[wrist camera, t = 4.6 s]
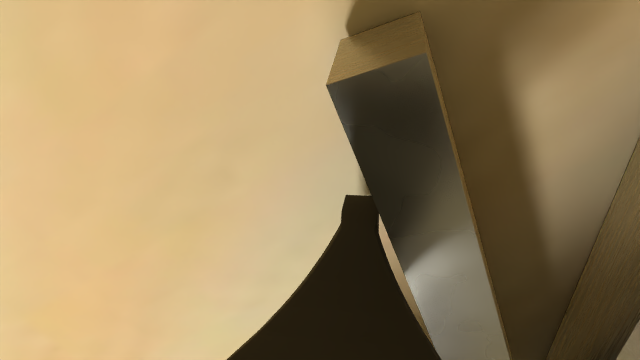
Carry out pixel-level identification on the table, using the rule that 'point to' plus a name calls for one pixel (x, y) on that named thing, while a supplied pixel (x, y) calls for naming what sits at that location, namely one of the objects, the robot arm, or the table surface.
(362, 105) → the bar
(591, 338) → the tongs base
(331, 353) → the robot arm
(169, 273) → the table surface
